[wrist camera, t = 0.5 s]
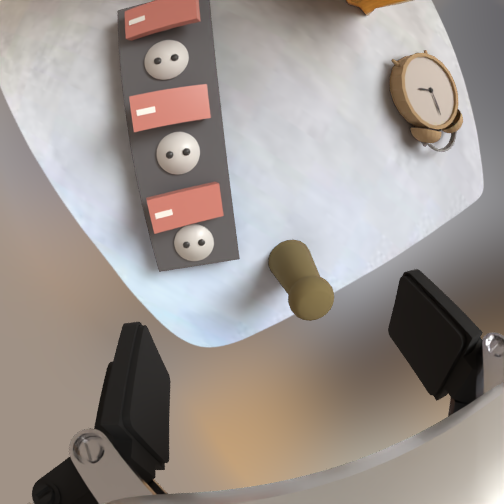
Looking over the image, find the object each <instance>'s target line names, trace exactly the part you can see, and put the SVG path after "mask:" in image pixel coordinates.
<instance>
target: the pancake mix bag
mask: <svg viewBox="0 0 504 504" xmlns="http://www.w3.org/2000/svg"><path fill="white" fill-rule="evenodd" d="M346 1H347V3H348V4H349V5H352V6H356V7H360V9H361V10H362V11H363V12H364V13H365V14H366V15H367V16H368V15H369V14H370V13H371V12H372V11H373V10H374V9H375V8H379V7H385V6H390V5H396V4H401V3H405V2H409V1H413V0H346Z"/></svg>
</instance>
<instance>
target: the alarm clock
mask: <svg viewBox="0 0 504 504" xmlns="http://www.w3.org/2000/svg"><path fill="white" fill-rule="evenodd" d="M392 62H393V63H394V64H395V65H394V67H393V68H392V71H391V75H390V92H391V95H392V99H393V102H394V104H395V106H396V107H397V109H398V111H399V113H400V114H401V115H402V116H403V117H404V118H405V119H406V120H407V122H409V123H411V124H412V125H414V126H416V127H420V128H411V133H412V135H413V137H414V138H415V139H417V140H419V141H421V143H423V146H425V147H426V146H427V145H428V146H429V147H430V148H432V149H433V150H435V151H440V152H445V151H447V150H449V149H450V148H451V147H452V146H453V144H454V142H455V139H456V133H457V130H458V129H459V128H460V127H461V125H462V123H463V117H462V114H461V112H460V111H459V110H458V93H457V89H456V85H455V82H454V80H453V78H452V76H451V74H450V72H449V71H448V69H447V68H446V67H445V66H444V64H443V63H442V62H441V61H439V60H438V59H437V58H435V57H434V56H431V55H429V54H428V53H427V51H426V50H424V53H416V54H414V55H410V56H405V57H403V58H402V59H400V60H398V61H396V60H394V59H392ZM423 128H425V129H423ZM428 128H430V129H437V130H438V129H439V131H435V130H429V129H428ZM442 131H444V132H446V133H451V138H450V141H449V143H448V144H447V146H445V147H444V148H442V149H437V148H435V147H434V146H433V145H432V144H429V143H434V142H437V141H438V140H439V139H440V137H441V132H442Z"/></svg>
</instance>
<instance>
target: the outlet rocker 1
mask: <svg viewBox="0 0 504 504" xmlns="http://www.w3.org/2000/svg"><path fill="white" fill-rule="evenodd" d="M196 22H201V20H200V9H199V0H155V1H152V2H149V3H146V4H143V5H140V6H138V7H135V8H132V9H130V10H127V11H125V34H126V39H128V40H131V41H132V40H135V39H138V38H141V37H144V36H147V35H150V34H153V33H157V32H161V31H167V30H170V29H172V28H175V27H179V26H183V25H187V24H191V23H196Z"/></svg>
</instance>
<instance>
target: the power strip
mask: <svg viewBox="0 0 504 504" xmlns="http://www.w3.org/2000/svg"><path fill="white" fill-rule="evenodd" d="M145 4H146V3H145ZM141 5H143V4H141ZM138 6H140V5H137V6H133V7H129V8H126V9H122V10H119V11H118V37H119V54H120V67H121V77H122V87H123V96H124V104H125V112H126V119H127V126H128V132H129V139H130V145H131V151H132V156H133V162H134V167H135V172H136V177H137V182H138V187H139V192H140V197H141V201H142V206H143V210H144V214H145V219H146V223H147V227H148V231H149V235H150V239H151V243H152V247H153V251H154V254H155V258H156V262H157V265H158V269H159V272H160V271H167V270H173V269H180V268H186V267H192V266H199V265H205V264H212V263H218V262H224V261H230V260H237V259H239V251H238V244H237V236H236V228H235V221H234V213H233V205H232V197H231V189H230V181H229V173H228V165H227V156H226V148H225V139H224V131H223V122H222V114H221V105H220V96H219V87H218V78H217V69H216V59H215V50H214V40H213V31H212V21H211V10H210V0H199V9H200V20H201V22H196V23H191V24H187V25H183V26H179V27H175V28H172V29H170V30H167V31H161V32H157V33H153V34H150V35H147V36H144V37H141V38H138V39H135V40H132V41H131V40H128V39H126V34H125V11H127V10H130V9H132V8H135V7H138ZM202 84H207V90H208V98H209V107H210V115H211V118H207V119H200V120H194V121H188V122H182V123H176V124H171V125H166V126H161V127H156V128H151V129H147V130H142V131H138V132H134V130H133V123H132V116H131V108H130V101H129V97H130V96H134V95H139V94H144V93H149V92H154V91H160V90H166V89H172V88H179V87H186V86H193V85H202ZM211 182H217V183H219V186H220V193H221V201H222V208H223V215H224V216H221V217H217V218H213V219H209V220H205V221H201V222H197V223H193V224H189V225H186V226H182V227H178V228H174V229H171V230H167V231H163V232H159V233H156V234H154V231H153V227H152V222H151V218H150V214H149V209H148V205H147V200H146V198H148V197H152V196H156V195H160V194H164V193H168V192H172V191H176V190H180V189H184V188H189V187H193V186H198V185H202V184H207V183H211Z"/></svg>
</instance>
